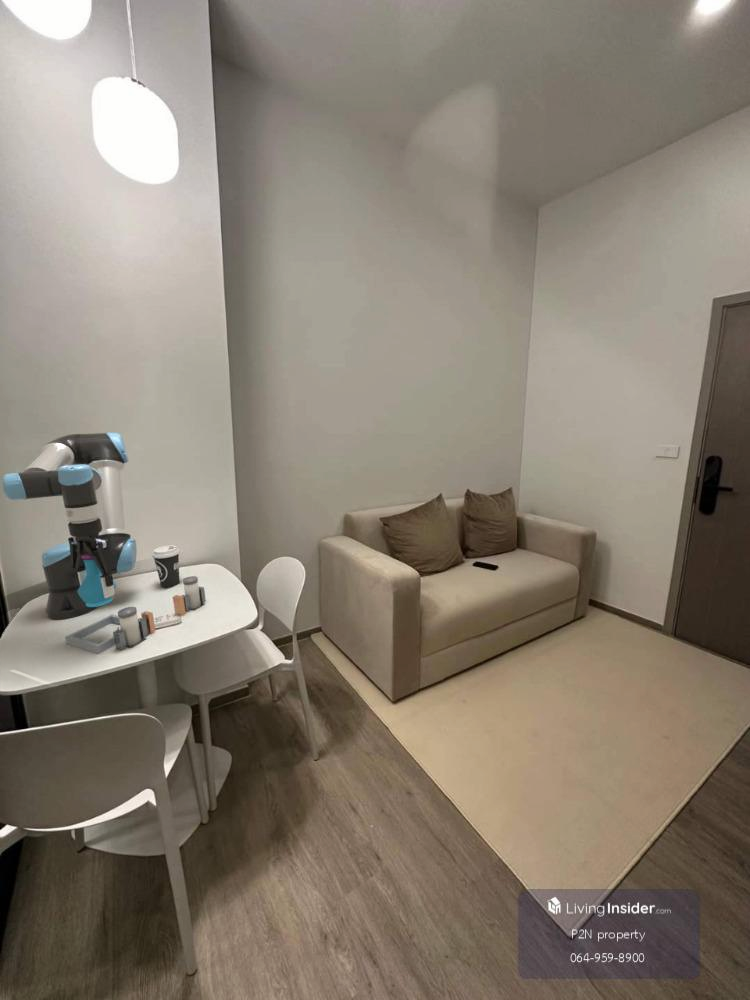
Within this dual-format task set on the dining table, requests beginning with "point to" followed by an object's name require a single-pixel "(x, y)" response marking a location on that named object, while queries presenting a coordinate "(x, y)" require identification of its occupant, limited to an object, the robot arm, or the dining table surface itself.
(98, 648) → the tray
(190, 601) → the canister
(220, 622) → the dining table surface
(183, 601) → the clip rack
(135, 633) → the canister
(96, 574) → the perfume bottle
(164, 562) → the coffee cup
